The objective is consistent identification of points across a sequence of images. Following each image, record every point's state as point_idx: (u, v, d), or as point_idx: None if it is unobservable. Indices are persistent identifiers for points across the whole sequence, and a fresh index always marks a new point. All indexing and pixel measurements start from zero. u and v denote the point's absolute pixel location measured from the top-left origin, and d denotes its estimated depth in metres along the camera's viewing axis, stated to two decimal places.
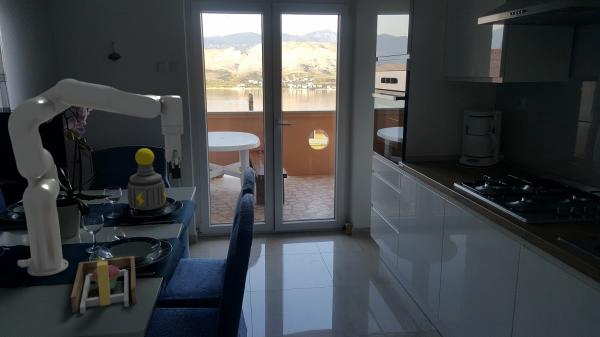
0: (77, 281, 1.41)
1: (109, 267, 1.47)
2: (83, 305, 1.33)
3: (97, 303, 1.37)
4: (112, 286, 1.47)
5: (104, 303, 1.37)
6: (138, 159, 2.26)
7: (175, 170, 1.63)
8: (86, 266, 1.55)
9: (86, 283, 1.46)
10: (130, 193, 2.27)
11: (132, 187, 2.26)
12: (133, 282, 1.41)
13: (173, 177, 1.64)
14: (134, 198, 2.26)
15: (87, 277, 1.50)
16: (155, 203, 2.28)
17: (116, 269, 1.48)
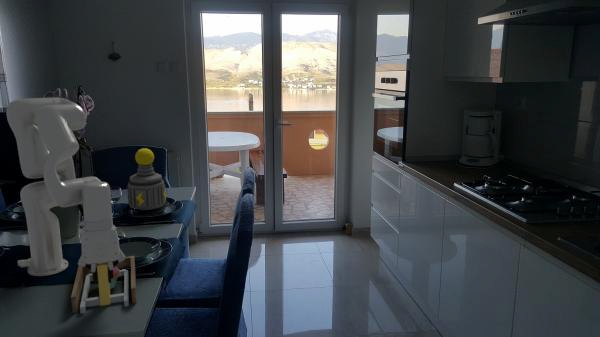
0: (77, 281, 1.41)
1: None
2: (83, 305, 1.33)
3: (97, 303, 1.37)
4: (112, 286, 1.47)
5: (104, 303, 1.37)
6: (138, 159, 2.26)
7: (112, 271, 1.37)
8: None
9: (86, 283, 1.46)
10: (130, 193, 2.27)
11: (132, 187, 2.26)
12: (133, 282, 1.41)
13: None
14: (134, 198, 2.26)
15: (87, 277, 1.50)
16: (155, 203, 2.28)
17: (116, 269, 1.48)
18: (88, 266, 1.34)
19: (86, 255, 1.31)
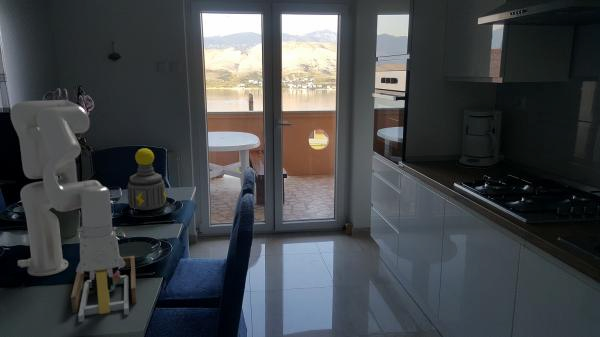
0: (77, 281, 1.41)
1: None
2: (81, 313, 1.28)
3: (96, 311, 1.32)
4: (112, 288, 1.45)
5: (103, 311, 1.32)
6: (138, 159, 2.26)
7: (112, 278, 1.32)
8: None
9: (85, 290, 1.42)
10: (130, 193, 2.27)
11: (132, 187, 2.26)
12: (133, 282, 1.41)
13: (110, 288, 1.32)
14: (134, 198, 2.26)
15: (86, 284, 1.46)
16: (155, 203, 2.28)
17: None
18: (87, 273, 1.29)
19: (85, 262, 1.26)
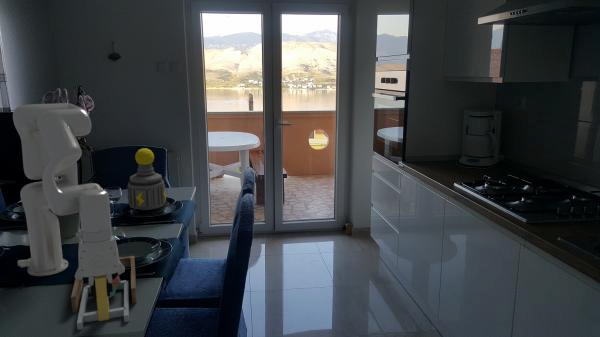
0: (77, 281, 1.41)
1: None
2: (80, 321, 1.25)
3: (95, 318, 1.29)
4: (112, 294, 1.42)
5: (103, 318, 1.29)
6: (138, 159, 2.26)
7: None
8: None
9: (84, 296, 1.38)
10: (130, 193, 2.27)
11: (132, 187, 2.26)
12: (133, 282, 1.41)
13: (109, 294, 1.28)
14: (134, 198, 2.26)
15: (85, 289, 1.42)
16: (155, 203, 2.28)
17: None
18: (85, 279, 1.25)
19: (83, 268, 1.23)
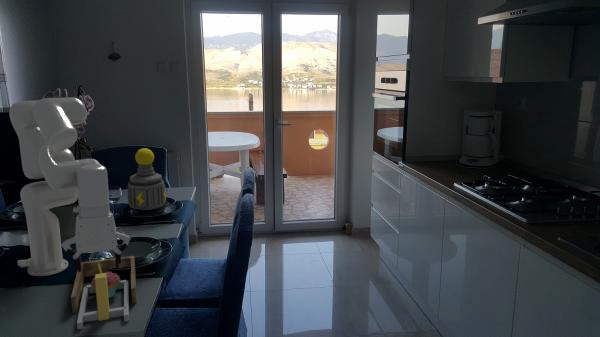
0: (77, 281, 1.41)
1: (109, 274, 1.42)
2: (80, 320, 1.25)
3: (95, 318, 1.29)
4: (112, 294, 1.42)
5: (103, 318, 1.29)
6: (138, 159, 2.26)
7: (120, 255, 1.28)
8: (86, 266, 1.55)
9: (84, 296, 1.38)
10: (130, 193, 2.27)
11: (132, 187, 2.26)
12: (133, 282, 1.41)
13: (118, 265, 1.28)
14: (134, 198, 2.26)
15: (85, 289, 1.42)
16: (155, 203, 2.28)
17: (116, 276, 1.43)
18: (70, 252, 1.23)
19: (80, 243, 1.22)
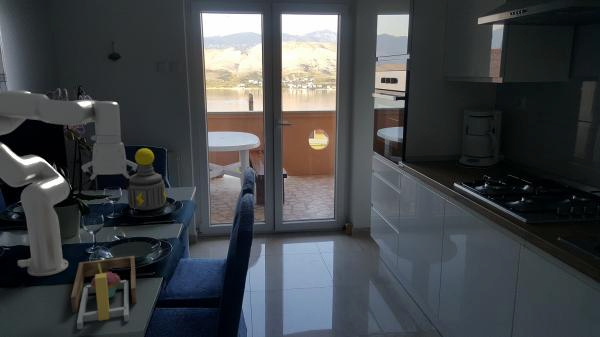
0: (77, 281, 1.41)
1: (109, 274, 1.42)
2: (80, 320, 1.25)
3: (95, 318, 1.29)
4: (112, 294, 1.42)
5: (103, 318, 1.29)
6: (138, 159, 2.26)
7: (129, 180, 1.53)
8: (86, 266, 1.55)
9: (84, 296, 1.38)
10: (130, 193, 2.27)
11: (132, 187, 2.26)
12: (133, 282, 1.41)
13: (127, 188, 1.53)
14: (134, 198, 2.26)
15: (85, 289, 1.42)
16: (155, 203, 2.28)
17: (116, 276, 1.43)
18: (87, 173, 1.49)
19: (96, 166, 1.47)
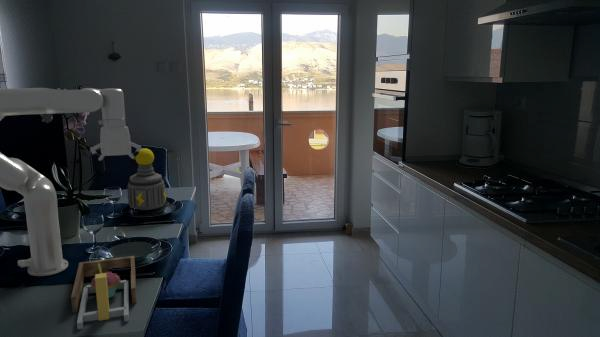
0: (77, 281, 1.41)
1: (109, 274, 1.42)
2: (80, 320, 1.25)
3: (95, 318, 1.29)
4: (112, 294, 1.42)
5: (103, 318, 1.29)
6: (138, 159, 2.26)
7: None
8: (86, 266, 1.55)
9: (84, 296, 1.38)
10: (130, 193, 2.27)
11: (132, 187, 2.26)
12: (133, 282, 1.41)
13: (132, 168, 1.67)
14: (134, 198, 2.26)
15: (85, 289, 1.42)
16: (155, 203, 2.28)
17: (116, 276, 1.43)
18: (96, 155, 1.62)
19: (104, 147, 1.61)
